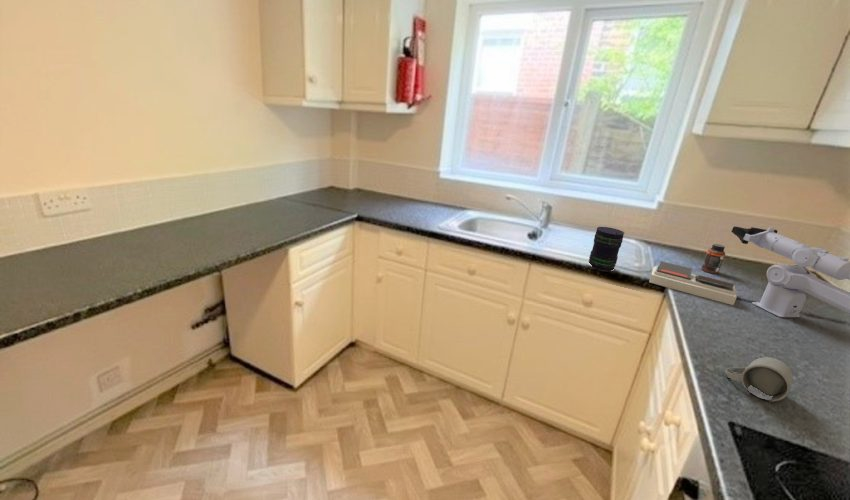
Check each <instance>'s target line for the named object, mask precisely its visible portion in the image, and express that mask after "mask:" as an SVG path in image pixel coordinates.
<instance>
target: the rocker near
mask: <svg viewBox="0 0 850 500" xmlns="http://www.w3.org/2000/svg"><path fill="white" fill-rule="evenodd" d="M696 275H697V276H696V278H697V279H701V280H705V281H709V282H713V283H717V284H721V285H725V286H729V287H733V286H734V287H735V284H734V283H732V282H728V281H724V280H721V279H720V280H719V279H716V278H712V277H708V276H703V275H699V274H696Z"/></svg>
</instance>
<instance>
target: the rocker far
mask: <svg viewBox="0 0 850 500" xmlns="http://www.w3.org/2000/svg"><path fill="white" fill-rule="evenodd" d="M658 266H659V268H658V271H657V272H660V273H664V274H668V275H672V276H676V277H680V278H684V279H688V280H690V276H691V274H692V271H693V268H691V267H688V266H687V267H686V266H683V265H679V264H675V263H670V262H667V261H663V260H661V261H660V263H659V265H658Z"/></svg>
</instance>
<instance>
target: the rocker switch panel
mask: <svg viewBox="0 0 850 500" xmlns="http://www.w3.org/2000/svg"><path fill="white" fill-rule="evenodd" d="M658 268H659V265H658V264H657V265H655V266H654V267H653V269H652V272H651V275H650V278H649V281H648V283H650V284H654V285H658V286H661V287H664V288H669V289H672V290H676V291H679V292H683V293H687V294H692V295H694V296H697V297H702V298H705V299H709V300H712V301H716V302H720V303H723V304H728V305H731V306H734V304H735V302H736V300H737V292H736V288H735V285H734V286H733V287H729V286H725V285H721V284H717V283H713V282H709V281H705V280H701V279H697V278H696V276H697V275H698V274H694V273H691V276H690V280H688V279H684V278H680V277H676V276H672V275H668V274H664V273H660V272H657V271H658Z"/></svg>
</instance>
